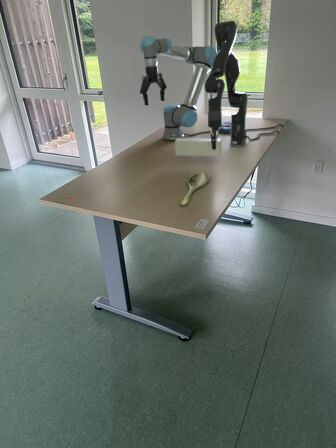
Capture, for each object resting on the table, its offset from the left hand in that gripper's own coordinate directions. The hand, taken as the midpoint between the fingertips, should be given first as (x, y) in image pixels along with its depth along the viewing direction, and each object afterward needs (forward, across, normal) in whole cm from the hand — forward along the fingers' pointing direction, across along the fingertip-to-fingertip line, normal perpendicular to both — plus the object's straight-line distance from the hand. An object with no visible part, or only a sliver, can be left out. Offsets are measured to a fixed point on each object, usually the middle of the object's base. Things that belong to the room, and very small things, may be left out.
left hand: (154, 103), depth 210 cm
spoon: (+31, -31, -60) cm, 74 cm away
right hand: (+21, +3, -46) cm, 50 cm away
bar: (+26, -2, -37) cm, 45 cm away
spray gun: (+31, +63, -10) cm, 71 cm away
